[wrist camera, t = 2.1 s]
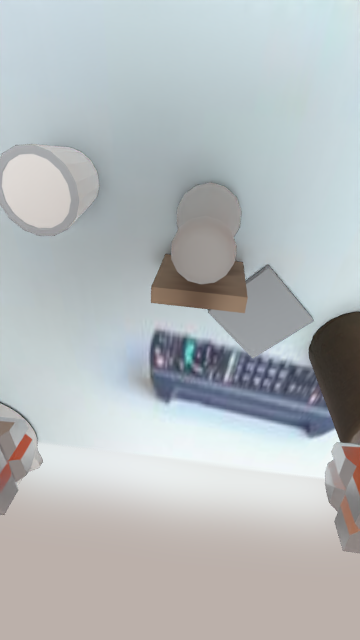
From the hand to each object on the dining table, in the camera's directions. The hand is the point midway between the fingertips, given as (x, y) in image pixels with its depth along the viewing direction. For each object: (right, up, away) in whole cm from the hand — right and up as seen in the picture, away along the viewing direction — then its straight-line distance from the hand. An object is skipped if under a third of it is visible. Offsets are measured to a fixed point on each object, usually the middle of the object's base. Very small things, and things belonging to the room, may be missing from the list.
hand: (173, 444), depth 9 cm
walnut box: (+3, +9, +26) cm, 28 cm away
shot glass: (-10, +17, +23) cm, 31 cm away
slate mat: (+9, +4, +28) cm, 30 cm away
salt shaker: (+3, +14, +23) cm, 27 cm away
